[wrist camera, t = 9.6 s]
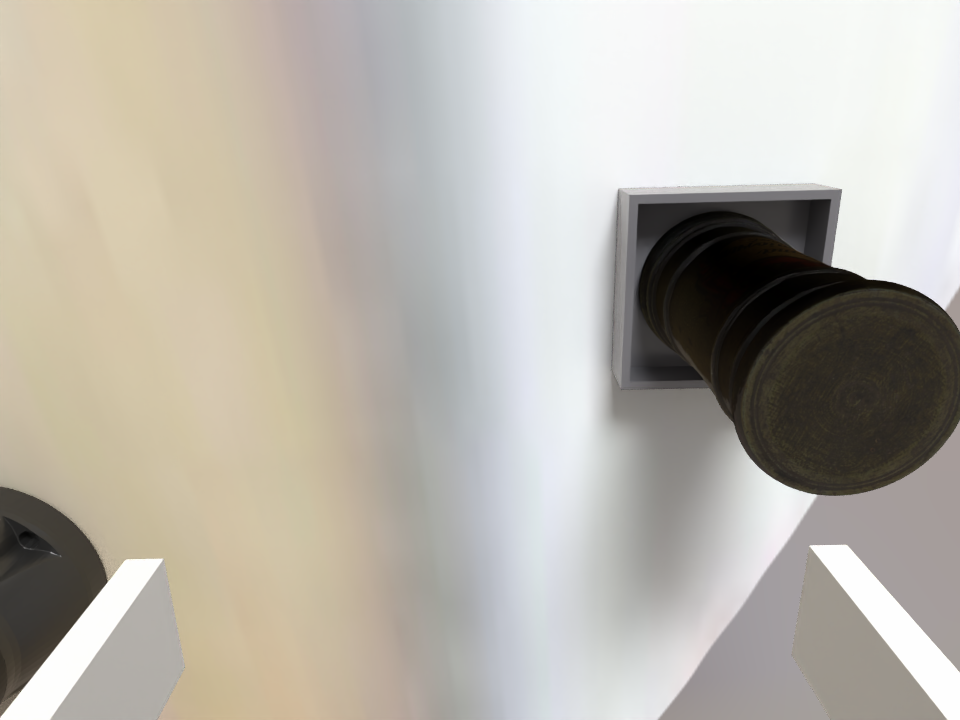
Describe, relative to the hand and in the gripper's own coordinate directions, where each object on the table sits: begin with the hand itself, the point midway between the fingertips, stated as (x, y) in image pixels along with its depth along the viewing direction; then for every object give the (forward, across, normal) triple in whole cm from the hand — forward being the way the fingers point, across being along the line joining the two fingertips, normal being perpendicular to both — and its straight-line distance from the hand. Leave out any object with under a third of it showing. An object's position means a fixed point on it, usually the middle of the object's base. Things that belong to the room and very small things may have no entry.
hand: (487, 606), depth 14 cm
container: (+29, +14, 0) cm, 33 cm away
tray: (+30, +14, 0) cm, 33 cm away
